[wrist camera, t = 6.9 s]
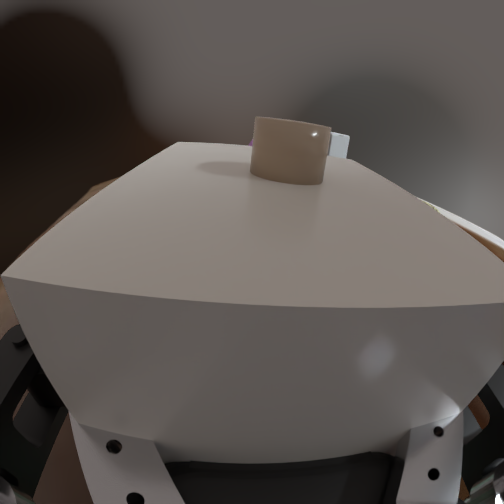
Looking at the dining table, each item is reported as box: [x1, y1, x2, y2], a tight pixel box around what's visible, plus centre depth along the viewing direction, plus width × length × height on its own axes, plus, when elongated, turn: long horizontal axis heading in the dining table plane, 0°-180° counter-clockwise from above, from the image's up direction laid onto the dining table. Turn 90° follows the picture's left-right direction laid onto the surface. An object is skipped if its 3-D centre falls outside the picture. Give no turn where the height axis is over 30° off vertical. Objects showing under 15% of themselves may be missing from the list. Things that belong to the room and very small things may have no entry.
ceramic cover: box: [1, 117, 504, 464], centre depth 8 cm, size 9×7×12 cm
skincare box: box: [327, 132, 350, 159], centre depth 52 cm, size 6×4×12 cm
